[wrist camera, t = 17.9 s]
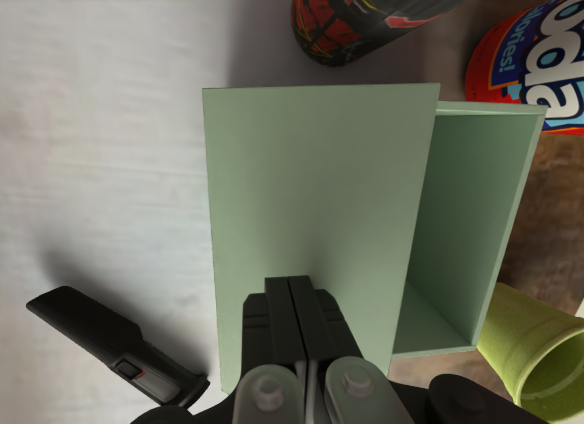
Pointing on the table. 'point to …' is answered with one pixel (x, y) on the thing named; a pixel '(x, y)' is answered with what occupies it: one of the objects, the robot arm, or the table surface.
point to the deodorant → (358, 25)
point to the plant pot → (535, 353)
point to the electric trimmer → (119, 346)
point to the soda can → (535, 64)
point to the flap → (316, 200)
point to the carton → (464, 222)
